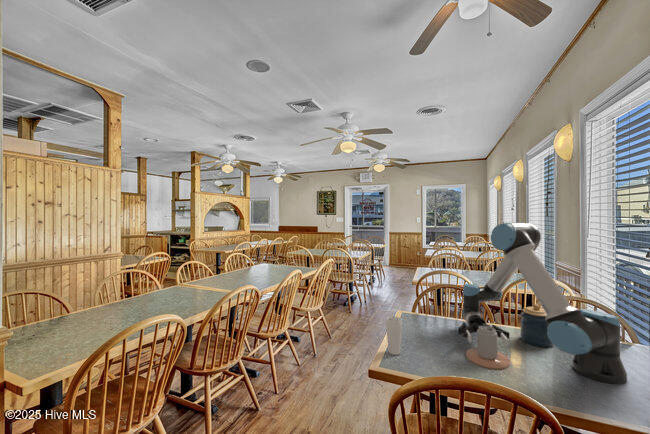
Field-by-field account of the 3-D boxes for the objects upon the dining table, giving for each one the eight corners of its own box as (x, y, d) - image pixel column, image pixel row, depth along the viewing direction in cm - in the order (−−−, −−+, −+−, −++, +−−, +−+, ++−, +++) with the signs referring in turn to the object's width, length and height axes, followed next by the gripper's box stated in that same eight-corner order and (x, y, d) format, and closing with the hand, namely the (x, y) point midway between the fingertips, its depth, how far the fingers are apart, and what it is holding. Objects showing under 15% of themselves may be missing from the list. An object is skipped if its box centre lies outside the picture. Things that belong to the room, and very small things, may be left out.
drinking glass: (389, 347, 134) (389, 315, 134) (404, 351, 130) (403, 317, 130) (384, 354, 128) (384, 319, 128) (399, 357, 124) (399, 322, 124)
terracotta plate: (519, 364, 118) (519, 362, 118) (489, 372, 112) (489, 369, 112) (485, 347, 133) (485, 345, 133) (457, 353, 127) (457, 351, 127)
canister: (561, 348, 131) (560, 309, 131) (530, 347, 133) (529, 308, 133) (542, 336, 144) (542, 300, 144) (514, 335, 146) (514, 300, 146)
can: (501, 361, 119) (501, 331, 119) (482, 360, 119) (482, 331, 119) (491, 352, 126) (491, 324, 126) (473, 352, 126) (473, 324, 126)
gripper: (504, 332, 138) (522, 353, 117) (448, 327, 144) (455, 346, 124) (504, 316, 138) (522, 334, 117) (448, 312, 144) (455, 329, 123)
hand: (488, 340), depth 120 cm, fingers open, 13 cm apart
